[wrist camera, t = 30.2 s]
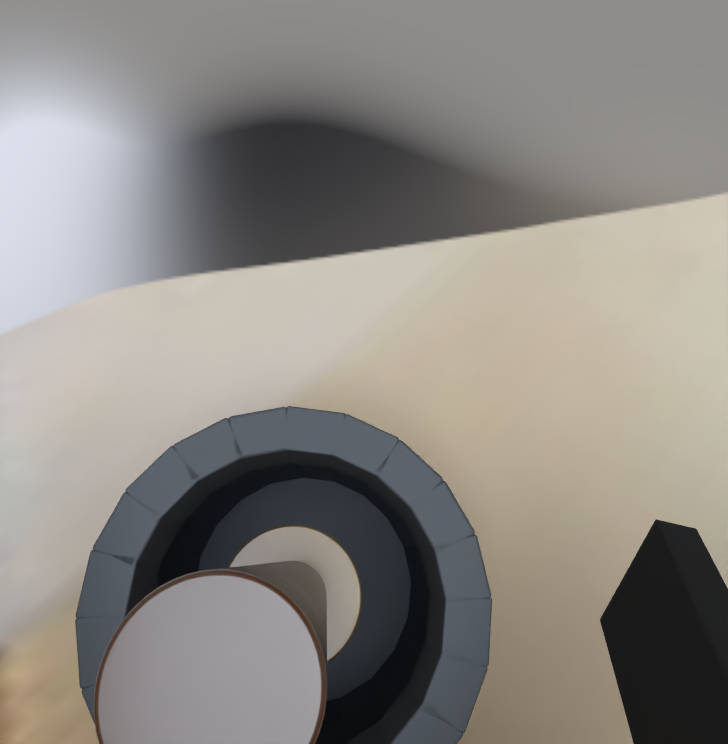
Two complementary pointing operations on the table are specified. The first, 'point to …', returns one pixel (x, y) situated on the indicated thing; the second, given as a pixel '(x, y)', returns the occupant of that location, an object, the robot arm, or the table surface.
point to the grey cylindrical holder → (344, 524)
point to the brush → (233, 648)
